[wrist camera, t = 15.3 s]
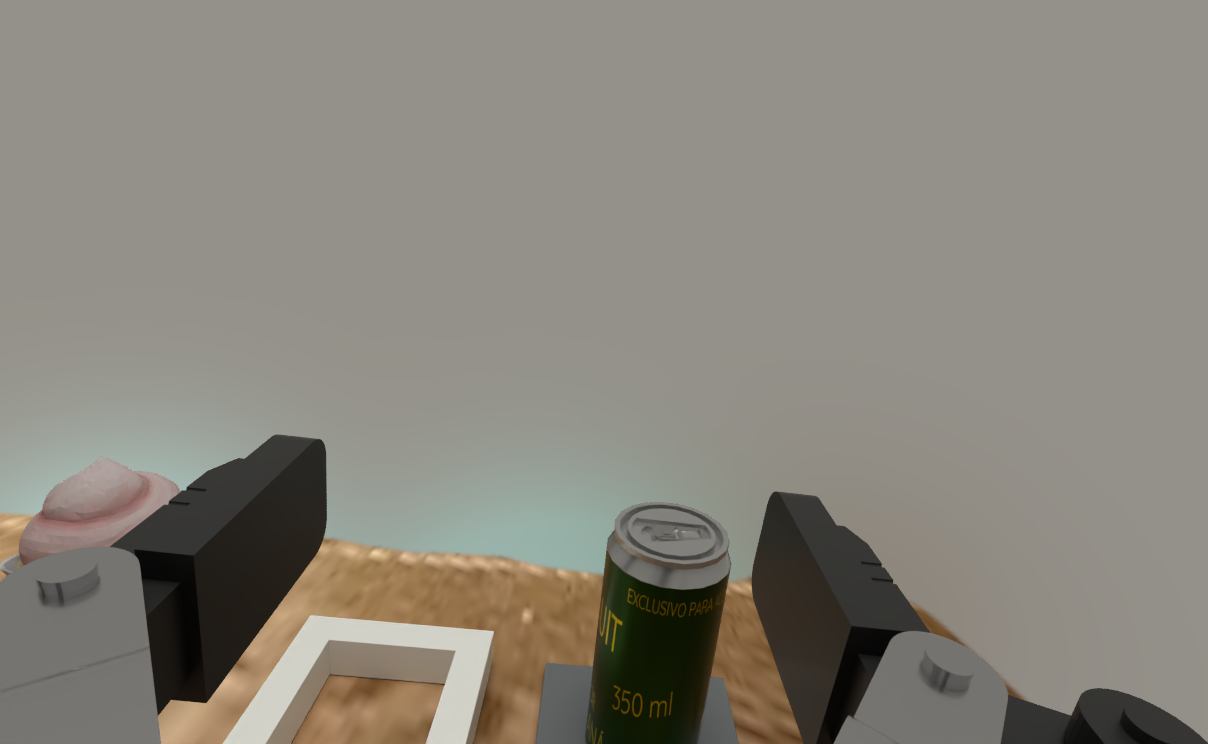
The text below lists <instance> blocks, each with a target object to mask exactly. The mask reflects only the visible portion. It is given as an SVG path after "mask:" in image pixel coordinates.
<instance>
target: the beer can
mask: <svg viewBox="0 0 1208 744" xmlns="http://www.w3.org/2000/svg"><path fill="white" fill-rule="evenodd" d="M728 547H729V538H728V534H727V532H726V530H725V529H724V528H723V527H722V525H721V524H720V523H719V522H717V521H716V520H714V519H713V518H712V517H710V516H709V515H707V514H705V513H703V512H700V511H698V510H696V509H694V508H690V507H686V506H683V505H679V504H673V503H664V502H651V503H642V504H638V505H633V506H631V507H629V508H627V509H625V510H623V511H622V512H621V513H620V514H619V515H618V517H617V518H616V520H615V530H614V531H613V532H612V534H611V535H610V536H609V538H608V542H607V551H606V559H605V568H604V576H603V585H602V594H601V602H600V611H599V619H598V628H597V637H596V645H595V654H594V662H593V671H592V680H591V688H590V697H589V705H588V714H587V723H586V733H585V740H586V743H587V744H698V743H699V738H700V732H701V727H702V721H703V716H704V710H705V705H706V699H707V694H708V688H709V683H710V677H711V672H712V666H713V661H714V655H715V650H716V645H717V639H718V634H719V628H720V623H721V617H722V612H723V606H724V601H725V595H726V590H727V584H728V579H729V573H730V568H731V561H730V557H729V553H728Z"/></svg>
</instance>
